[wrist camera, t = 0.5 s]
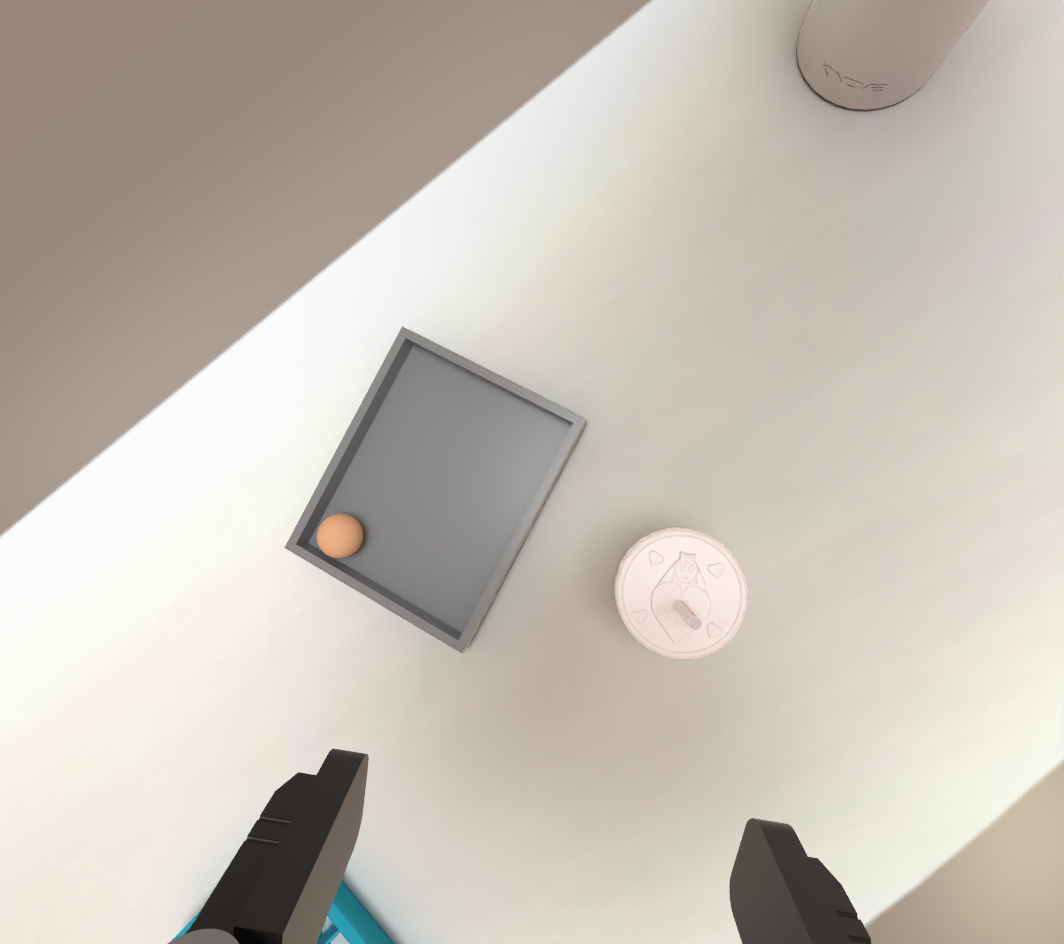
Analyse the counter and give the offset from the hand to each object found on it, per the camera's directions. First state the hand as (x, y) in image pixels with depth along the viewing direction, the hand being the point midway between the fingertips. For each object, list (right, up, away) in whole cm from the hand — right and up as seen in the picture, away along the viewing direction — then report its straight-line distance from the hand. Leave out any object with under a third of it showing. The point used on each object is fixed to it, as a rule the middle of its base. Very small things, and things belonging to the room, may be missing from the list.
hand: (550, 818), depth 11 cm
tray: (-7, +6, +27) cm, 28 cm away
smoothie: (+8, +1, +25) cm, 26 cm away
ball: (-13, +3, +27) cm, 30 cm away
